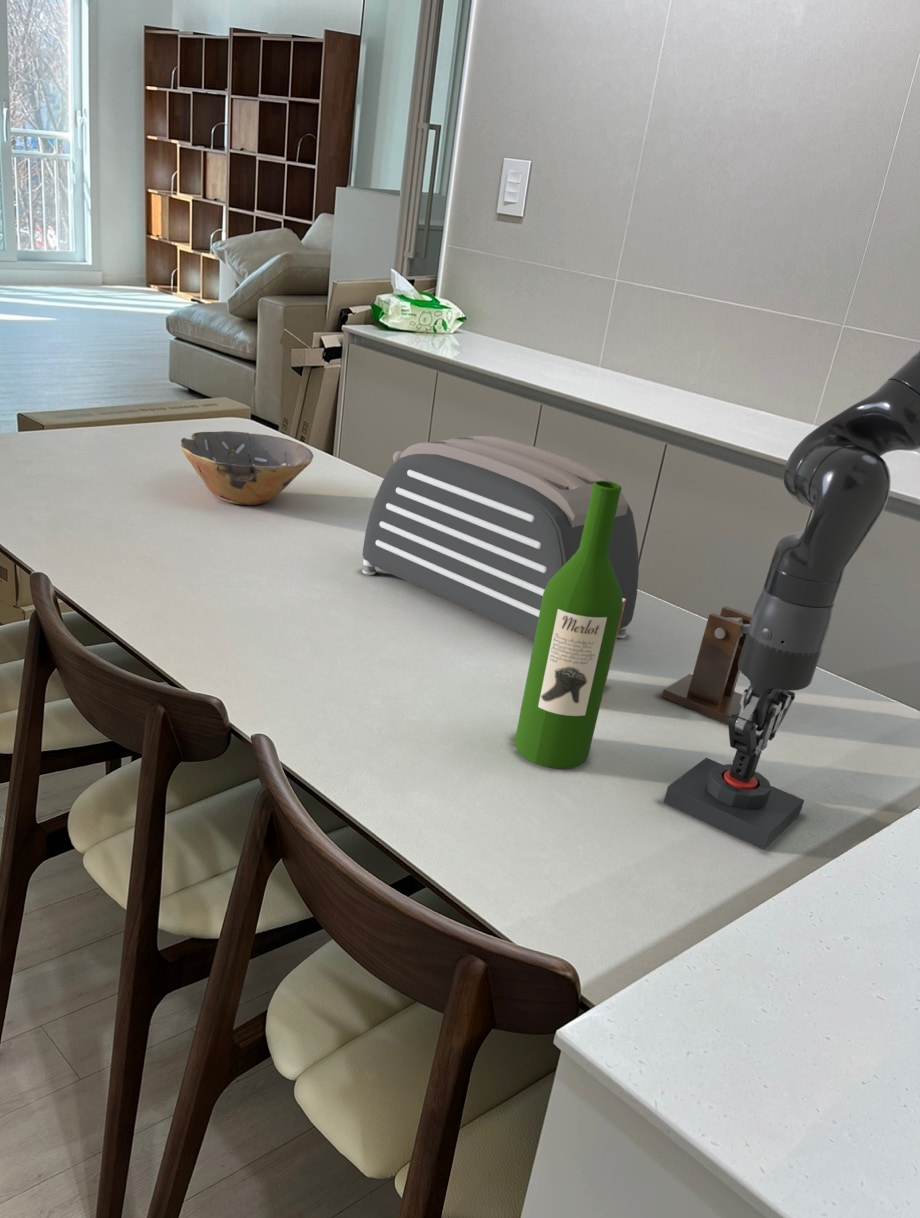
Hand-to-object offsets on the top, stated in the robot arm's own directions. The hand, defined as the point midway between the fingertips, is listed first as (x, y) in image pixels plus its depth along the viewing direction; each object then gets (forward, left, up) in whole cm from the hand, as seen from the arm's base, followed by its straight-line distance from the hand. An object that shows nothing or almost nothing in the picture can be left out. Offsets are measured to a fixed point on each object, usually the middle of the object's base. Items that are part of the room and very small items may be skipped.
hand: (740, 777), depth 117 cm
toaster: (+55, -28, -4) cm, 62 cm away
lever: (+9, -24, +7) cm, 27 cm away
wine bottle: (+21, +5, -4) cm, 22 cm away
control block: (0, 0, -4) cm, 4 cm away
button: (0, 0, -2) cm, 2 cm away
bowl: (+113, -31, -4) cm, 117 cm away
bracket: (+14, -24, -4) cm, 28 cm away
